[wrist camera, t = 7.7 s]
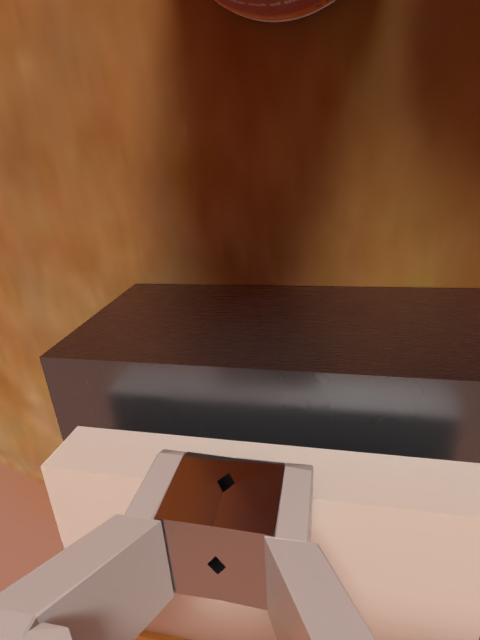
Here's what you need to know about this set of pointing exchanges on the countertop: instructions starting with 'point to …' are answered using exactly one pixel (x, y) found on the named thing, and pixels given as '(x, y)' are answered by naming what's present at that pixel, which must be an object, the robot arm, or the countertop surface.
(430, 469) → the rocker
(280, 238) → the countertop surface
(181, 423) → the panel
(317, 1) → the pill bottle
